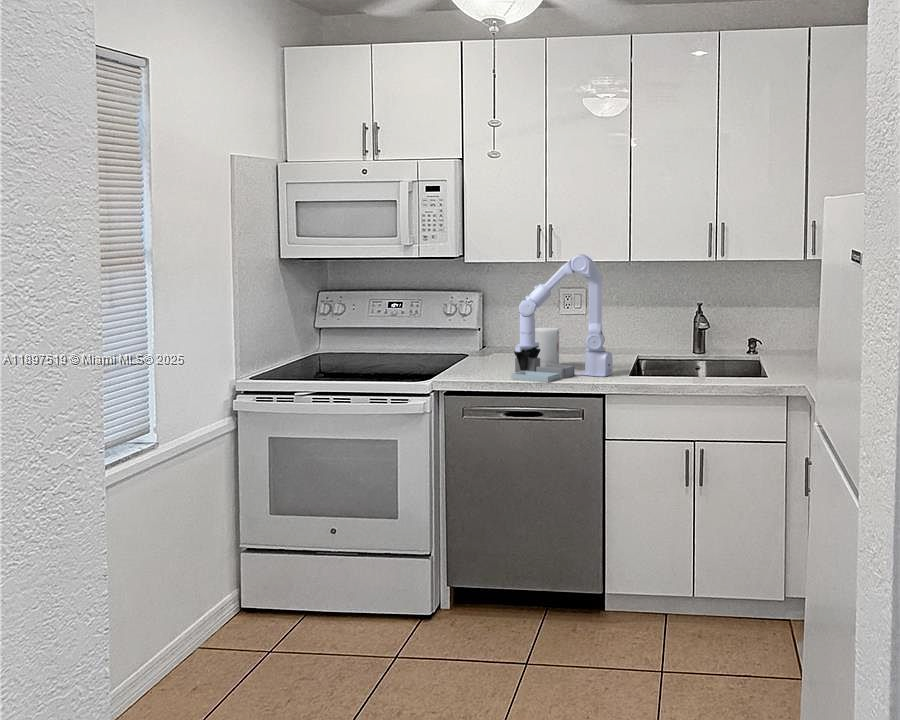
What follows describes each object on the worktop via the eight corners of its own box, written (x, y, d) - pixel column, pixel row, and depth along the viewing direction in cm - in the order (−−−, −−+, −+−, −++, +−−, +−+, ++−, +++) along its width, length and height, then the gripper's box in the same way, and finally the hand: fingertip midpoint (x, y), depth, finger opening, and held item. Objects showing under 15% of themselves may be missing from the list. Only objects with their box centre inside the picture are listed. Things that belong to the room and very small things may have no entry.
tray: (559, 379, 409) (559, 373, 409) (547, 382, 402) (547, 376, 402) (523, 376, 417) (523, 370, 417) (511, 379, 410) (511, 373, 409)
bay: (574, 375, 418) (574, 365, 417) (563, 378, 411) (563, 368, 410) (547, 373, 423) (547, 363, 423) (536, 376, 416) (536, 366, 416)
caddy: (540, 374, 423) (540, 356, 422) (534, 375, 419) (534, 357, 418) (521, 372, 427) (521, 354, 426) (515, 374, 423) (515, 356, 422)
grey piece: (557, 369, 433) (557, 330, 431) (533, 369, 434) (533, 329, 432) (559, 366, 441) (559, 327, 439) (536, 366, 443) (536, 327, 441)
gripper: (527, 330, 429) (527, 366, 431) (508, 333, 417) (508, 371, 419) (544, 331, 426) (544, 367, 427) (525, 334, 413) (525, 372, 415)
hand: (527, 369), depth 423 cm, fingers open, 6 cm apart
